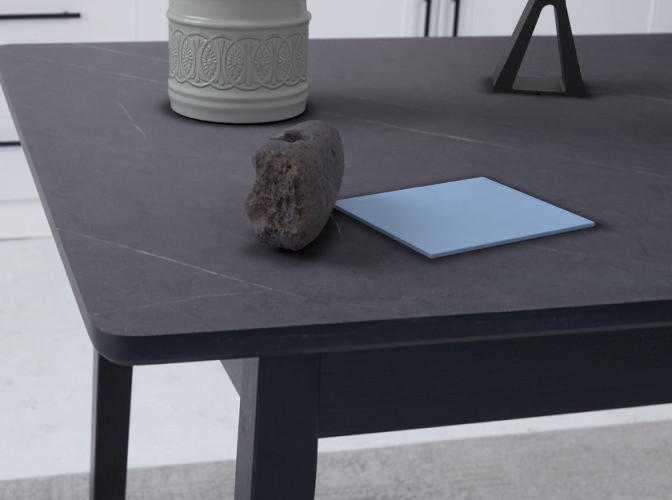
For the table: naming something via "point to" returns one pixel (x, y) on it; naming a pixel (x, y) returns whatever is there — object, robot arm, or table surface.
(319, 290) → the table surface
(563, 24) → the phone stand
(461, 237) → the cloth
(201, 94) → the jar
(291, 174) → the perforated stone tool
